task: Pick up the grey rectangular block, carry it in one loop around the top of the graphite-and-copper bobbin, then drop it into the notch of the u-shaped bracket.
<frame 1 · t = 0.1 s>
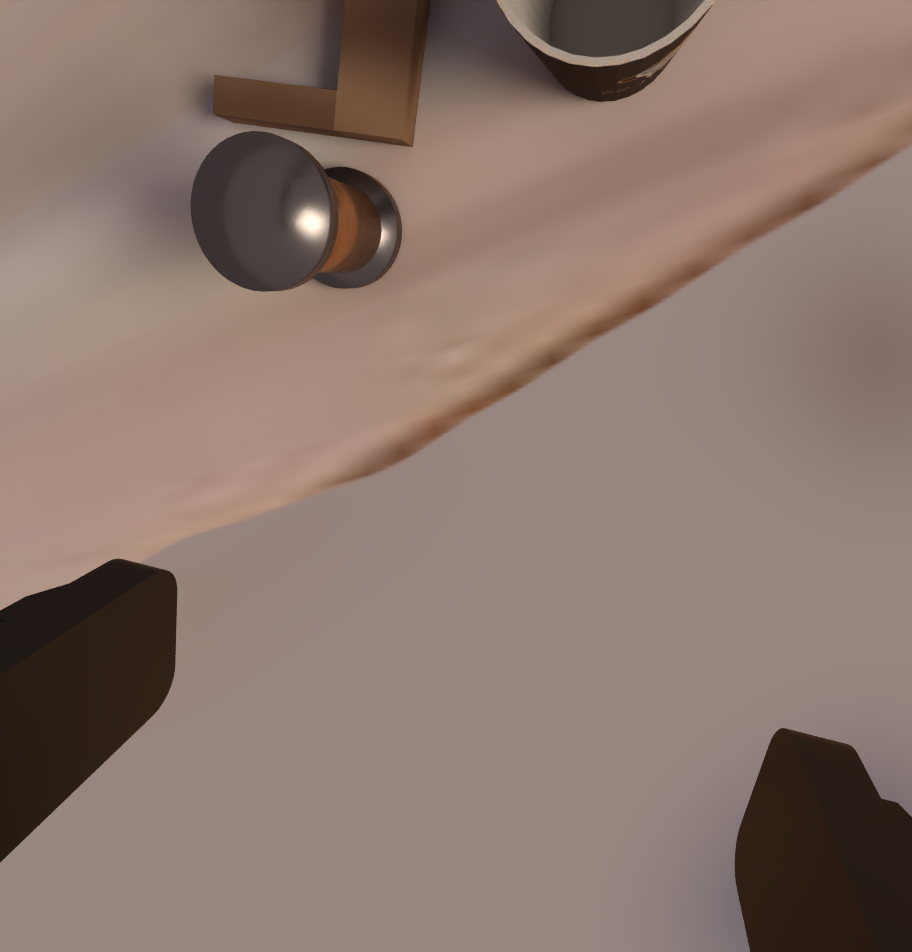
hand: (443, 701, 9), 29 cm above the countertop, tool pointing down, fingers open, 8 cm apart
u-shaped bracket: (330, 24, 34), on the countertop
bobbin: (348, 230, 37), on the countertop
coffee mug: (643, 14, 31), on the countertop
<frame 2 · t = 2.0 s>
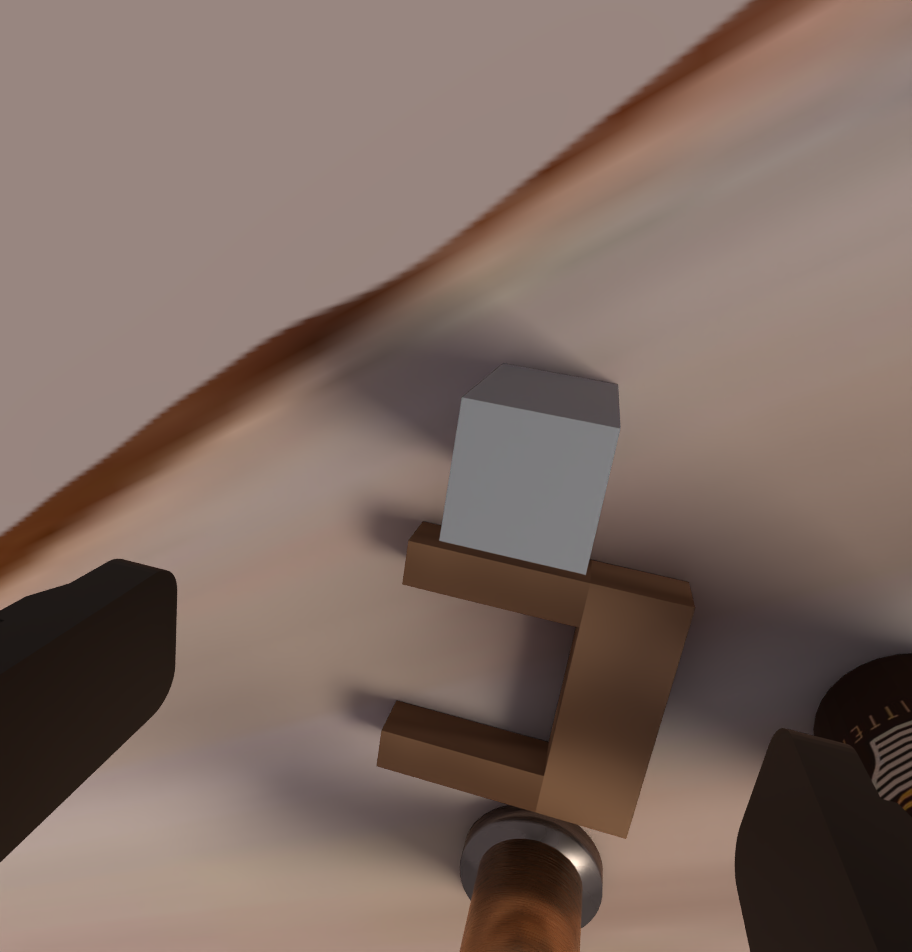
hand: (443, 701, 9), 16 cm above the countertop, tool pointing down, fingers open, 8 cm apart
grey rectangular block: (548, 429, 24), on the countertop
u-shaped bracket: (527, 665, 27), on the countertop
bobbin: (532, 862, 30), on the countertop
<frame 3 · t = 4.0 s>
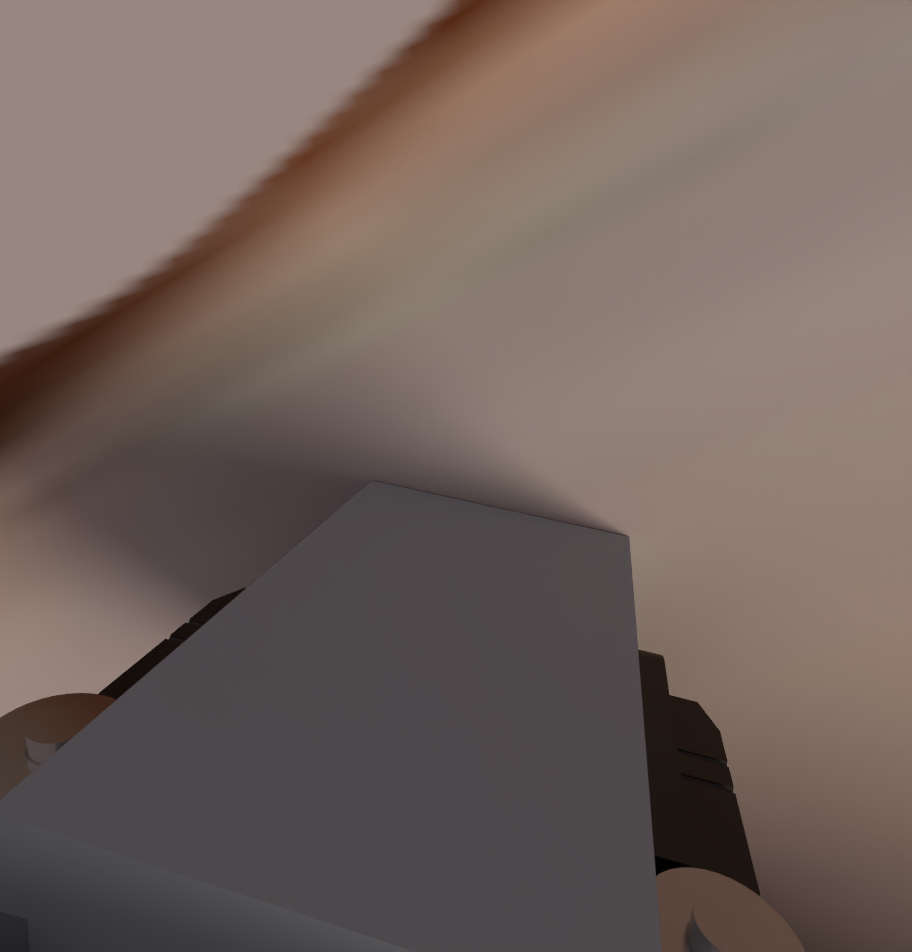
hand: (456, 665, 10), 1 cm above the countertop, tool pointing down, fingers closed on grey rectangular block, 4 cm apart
grey rectangular block: (475, 622, 11), on the countertop, touching gripper
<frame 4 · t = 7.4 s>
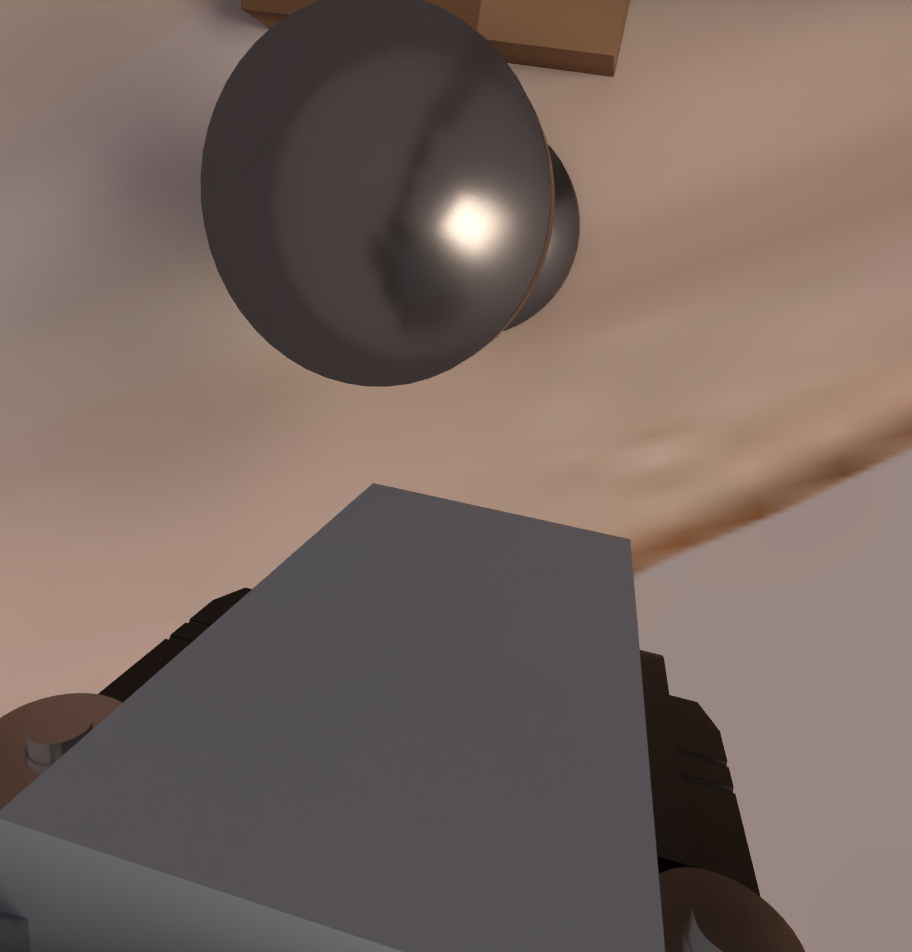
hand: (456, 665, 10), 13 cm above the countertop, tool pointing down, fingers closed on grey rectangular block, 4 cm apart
grey rectangular block: (476, 625, 11), point 12 cm above the countertop, touching gripper
bobbin: (478, 231, 20), on the countertop
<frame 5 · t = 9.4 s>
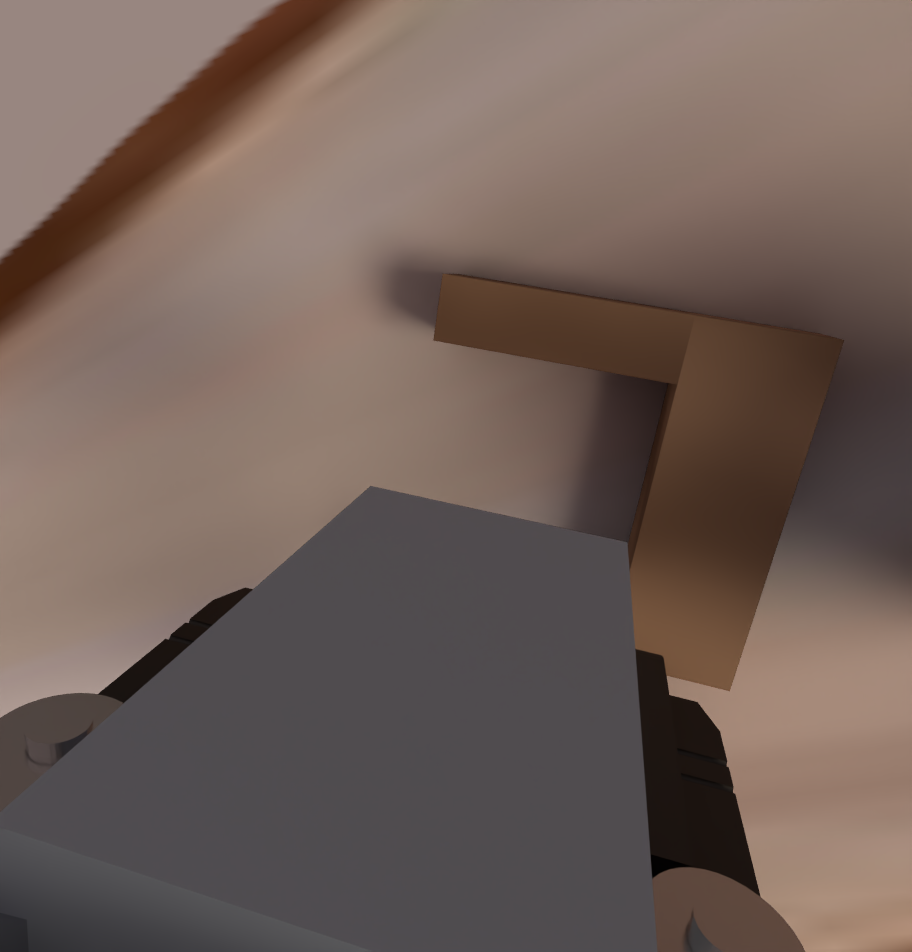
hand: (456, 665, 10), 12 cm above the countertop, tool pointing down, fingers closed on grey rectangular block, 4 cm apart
grey rectangular block: (474, 627, 11), point 10 cm above the countertop, touching gripper
u-shaped bracket: (593, 471, 20), on the countertop
when the fingers open (4 cm above the countertop, at t = 11.1 s): grey rectangular block drops 2 cm, on the countertop.
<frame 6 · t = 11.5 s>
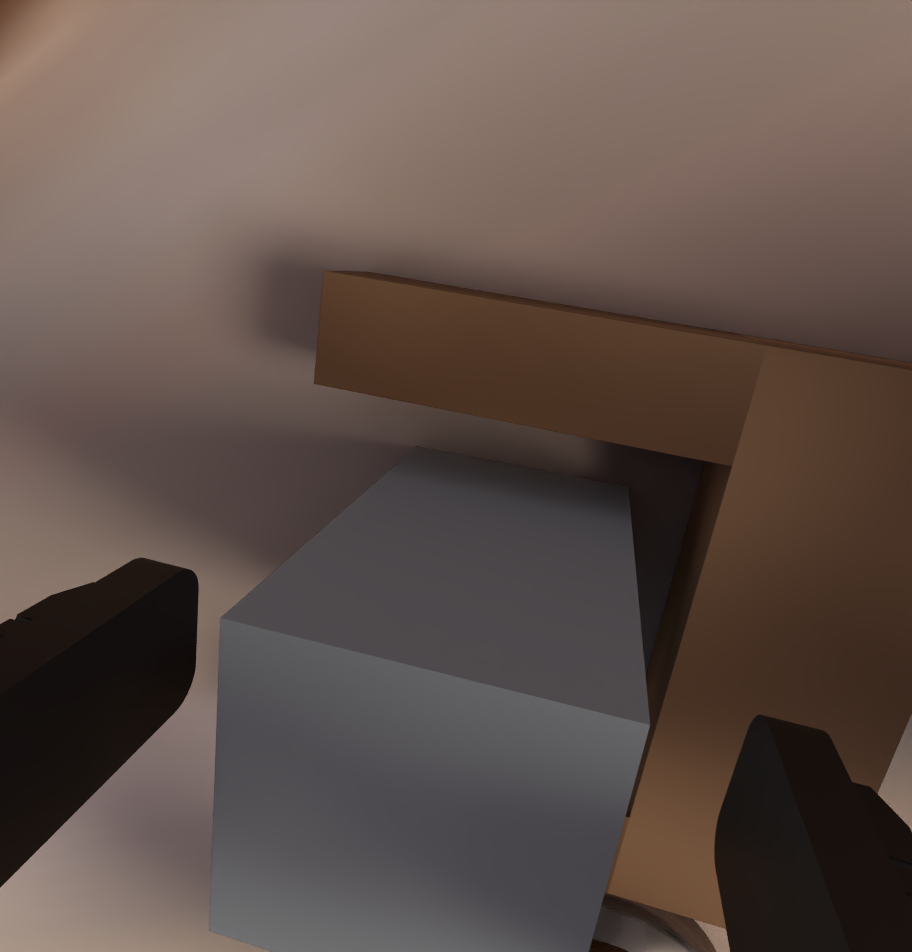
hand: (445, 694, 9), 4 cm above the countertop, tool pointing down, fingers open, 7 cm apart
grey rectangular block: (503, 563, 13), on the countertop
u-shaped bracket: (586, 583, 13), on the countertop
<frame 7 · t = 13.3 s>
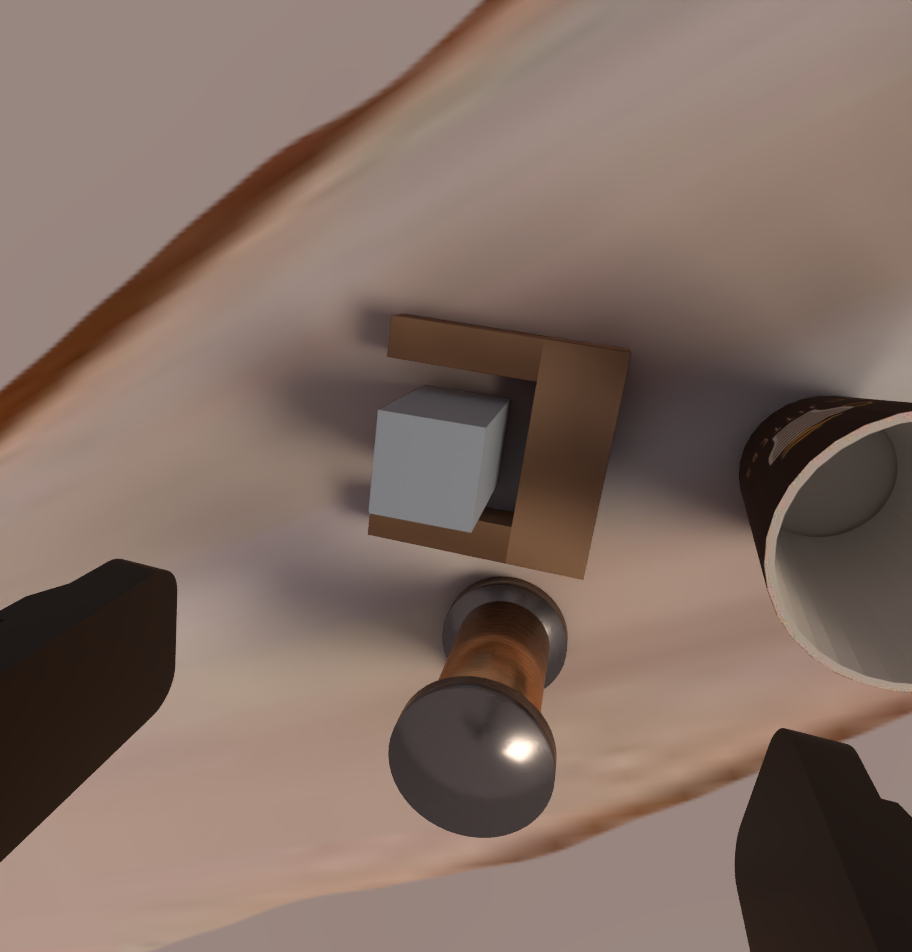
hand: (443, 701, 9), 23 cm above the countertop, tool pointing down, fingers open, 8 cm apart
grey rectangular block: (461, 434, 31), on the countertop
u-shaped bracket: (496, 440, 31), on the countertop
bobbin: (506, 633, 34), on the countertop
coffee mug: (856, 462, 29), on the countertop
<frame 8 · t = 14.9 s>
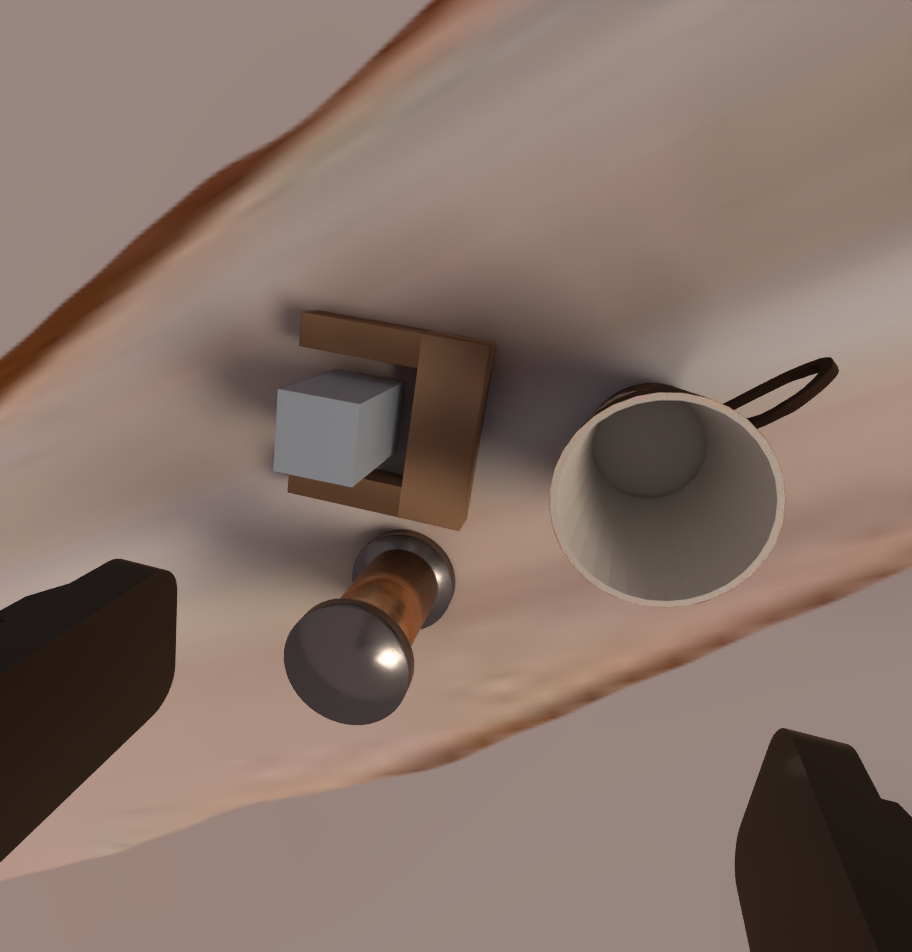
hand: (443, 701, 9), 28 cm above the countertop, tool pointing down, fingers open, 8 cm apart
grey rectangular block: (365, 410, 38), on the countertop
u-shaped bracket: (393, 416, 38), on the countertop
bobbin: (406, 577, 40), on the countertop
coffee mug: (678, 437, 35), on the countertop
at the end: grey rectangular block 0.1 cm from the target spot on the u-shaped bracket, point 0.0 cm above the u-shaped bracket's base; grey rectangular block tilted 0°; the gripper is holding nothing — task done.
